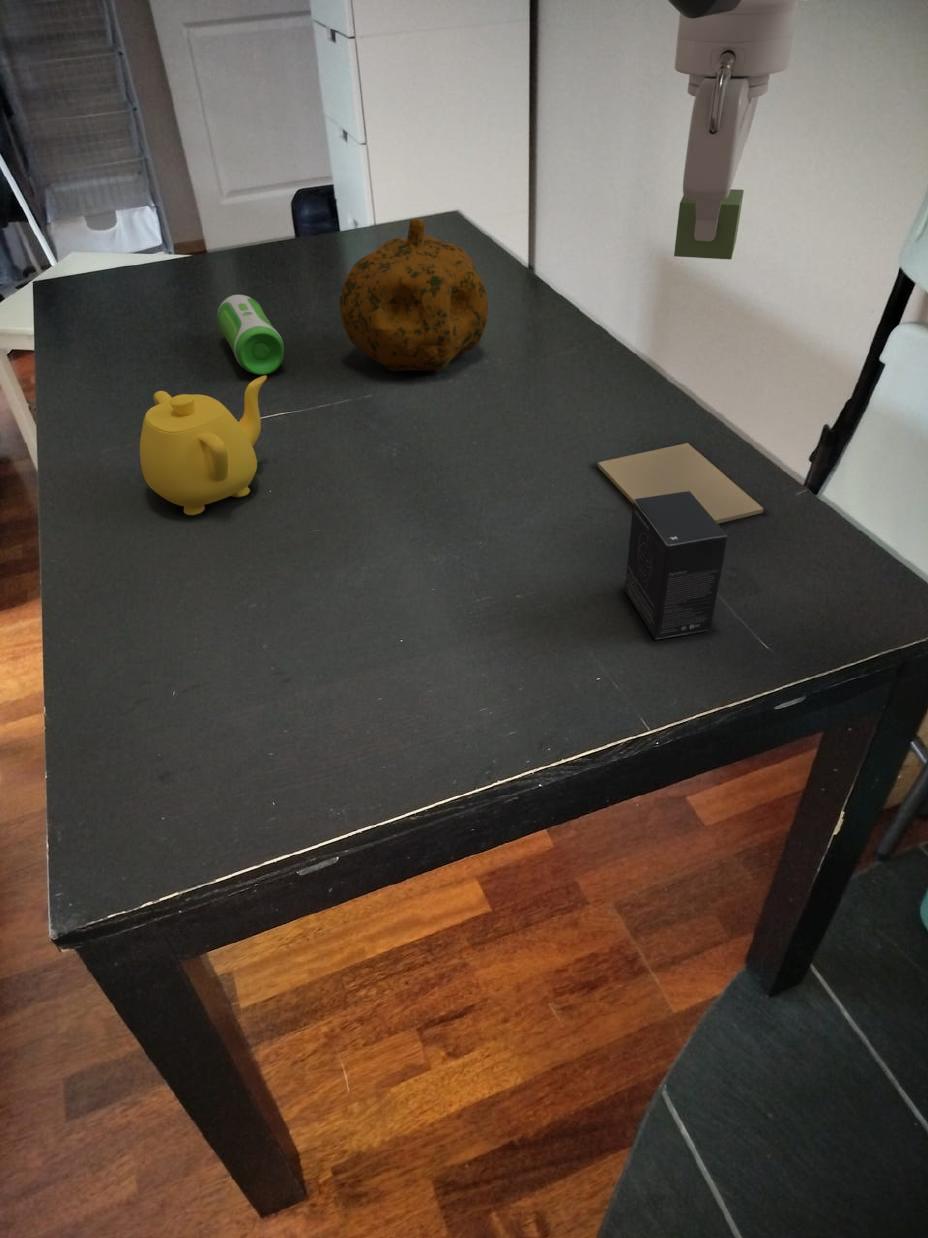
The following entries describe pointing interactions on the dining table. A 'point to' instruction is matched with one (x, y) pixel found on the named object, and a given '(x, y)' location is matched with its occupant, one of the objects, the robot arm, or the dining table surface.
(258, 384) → the teapot
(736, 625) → the dining table surface
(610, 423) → the dining table surface
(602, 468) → the mat
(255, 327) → the speaker
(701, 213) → the robot arm
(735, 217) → the green block
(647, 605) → the box
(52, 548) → the dining table surface
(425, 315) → the decorative pumpkin
